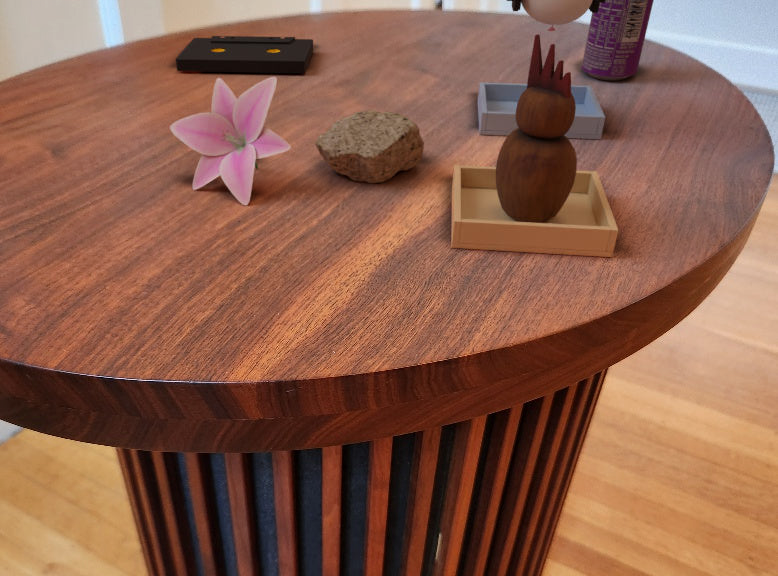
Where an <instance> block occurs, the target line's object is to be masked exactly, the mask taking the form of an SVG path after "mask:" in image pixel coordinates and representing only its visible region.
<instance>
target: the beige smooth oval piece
mask: <svg viewBox="0 0 778 576" xmlns="http://www.w3.org/2000/svg"><path fill="white" fill-rule="evenodd" d="M592 1H593V0H521V6H522V8H523V10H524V11H525V12H526V14H528V15H529V17H531V18H532V19H534V20H535V21H537V22H539V23H542V24H545V25H552V26H550V28H548V29H547V32H555V31H556V28H555V27H554V26H560V25H562V26H563V25H567V24H570V23H572V22H575V21H576V20H578V19H580V18H581V17H583V15H585V14H586V13H587V12H588V11H589V7H590V5H591V3H592Z"/></svg>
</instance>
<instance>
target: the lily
mask: <svg viewBox="0 0 778 576" xmlns="http://www.w3.org/2000/svg"><path fill="white" fill-rule="evenodd" d="M277 84H278V79H277V76H269V77H268V78H265V79H263V80H261V81H259V82H257V83H256V84H254V85H252V86H251V87H249V88H248V89H246V90H245V91H244V92H242V93H241V94H240V95H239V96H238V97H237V96H236V95H235V94H234V92H233V91H232V89H231V88H230V87H229V86H228V84H227V83H226V82H225V81H224V80H223V78H221V77H217V78H216V79H215V82H214V85H213V90H212V96H211V109H210V110H211V112H210V111H207V112H199V113H195V114H191V115H188V116H185V117H183V118H180V119H178V120H176V121H173V123H171V125H170V126H169V130H170V132H171V133H172V134H173V135H174V136H175V137H176V138H177V139H178V140H179V141H181V142H182V143H183V144H185V146H187V147H189V149H191V150H193V151H194V152H196V153H198V154H201V156H200V157H199V160H198V163H197V166H196V169H195V172H194V176H193V179H192V186H191V187H192V190H193V191H194V190H195V191H196V190H198V189H200V188H202V187H204V186H206V185H207V184H209V183H210V182H212V181H214V180H215V179H217V178H219V177H221V178H220V179H221V180H222V181H223V183H224V185H225V186H226V187H227V189H228V190H229V191H230V193H231V195H233V196H234V198H235V199H236V200H237V201H238V202H239V203H240V204H241V205H243V206H248V204H249V203H250V200H251V197H252V190H253V181H254V173H255V169H256V170H257V169H259V166H258V163H257V160H259V159H264V158H268V157H273V156H277V155H280V154H282V153H285V152H288V151H289V150H290V149H292V147H291V145H290V144H289V143H288V142H287V141H286V140H285V139H284V138H283V137H281V135H279V134H277V133H276V132H275V131H273V130H272V129H270V128H268V127H266V126H265V122H266V120H267V115H268V112H269V109H270V106H271V104H272V101H273V97H274V94H275V92H276V87H277Z"/></svg>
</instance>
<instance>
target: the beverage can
mask: <svg viewBox="0 0 778 576" xmlns="http://www.w3.org/2000/svg"><path fill="white" fill-rule="evenodd" d="M654 1H655V0H606V1H605V3H600V4H599V9H598V13H592V12H591V15H590V22H589V26H588V33H587V37H586V42H585V46H584V47H585V48H584V51H583V52H584V53H583V58H582V63H581V70H582V71H583V72H585V73H587V74H588V76H590V77H591V78H594V79H597V80H601V81H621V80H625V79H627V78H629V77H631V76H634V75H635V74H637V73H638V69H639V66H640V65H639V64H640V60H641V55H642V52H643V46H644V43H645V39H646V35H647V30H648V26H649V22H650V18H651V13H652V10H653V5H654Z"/></svg>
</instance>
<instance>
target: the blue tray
mask: <svg viewBox="0 0 778 576" xmlns="http://www.w3.org/2000/svg"><path fill="white" fill-rule="evenodd" d="M526 89H527V83H516V82H484V81H483V82H482V81H481V82H479V86H478V95H477V116H478V131H479V132H478V133H479V135H480V136H504V137H505V136H506V137H507V136H508V135H509V134H510V133H511V132H512V131H513V130H515V129H517V128H519V127H518V126H517V122H516V118H515V115H516V108H517V103H518V100H519V98H520V96H521V94H522V93H523V92H524V91H525V90H526ZM571 93H572V95H573V97H574V99H575V105H576V111H575V117H574V121H573V124H572V126H571V127H570V129H569V131H568V132H567V133H566V134H565V135H564V136H566V137H567V138H568V139H582V140H601V139H602V135H603V130H604V127H605V121H606V115H605V113H604V111H603V109H602V107H601V104H600V102H599V100H598V98H597V95H596V94H595V91H594V89H593V87H592V85H582V84H581V85H580V84H579V85H576V84H571Z"/></svg>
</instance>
